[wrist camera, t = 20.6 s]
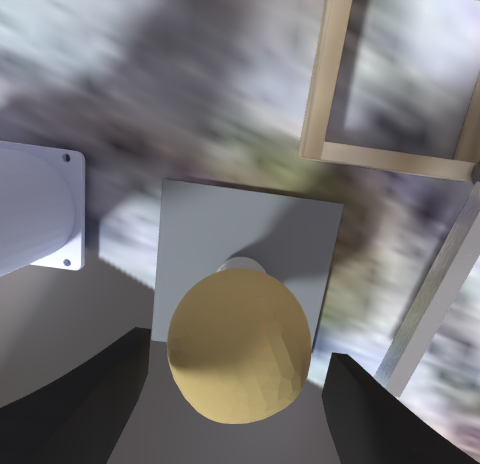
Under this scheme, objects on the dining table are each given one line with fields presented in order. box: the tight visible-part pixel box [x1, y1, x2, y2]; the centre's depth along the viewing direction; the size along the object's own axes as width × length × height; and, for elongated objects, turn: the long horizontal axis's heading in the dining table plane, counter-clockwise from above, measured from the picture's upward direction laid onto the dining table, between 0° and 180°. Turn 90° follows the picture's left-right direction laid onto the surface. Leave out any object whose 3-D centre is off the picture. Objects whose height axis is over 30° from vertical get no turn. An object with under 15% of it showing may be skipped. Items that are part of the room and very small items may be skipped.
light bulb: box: [167, 257, 311, 424], centre depth 14 cm, size 6×6×10 cm
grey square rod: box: [374, 161, 480, 397], centre depth 16 cm, size 15×2×2 cm, turn 162°
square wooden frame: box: [297, 0, 480, 182], centre depth 16 cm, size 11×11×2 cm
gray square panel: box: [152, 179, 344, 349], centre depth 19 cm, size 12×12×1 cm
